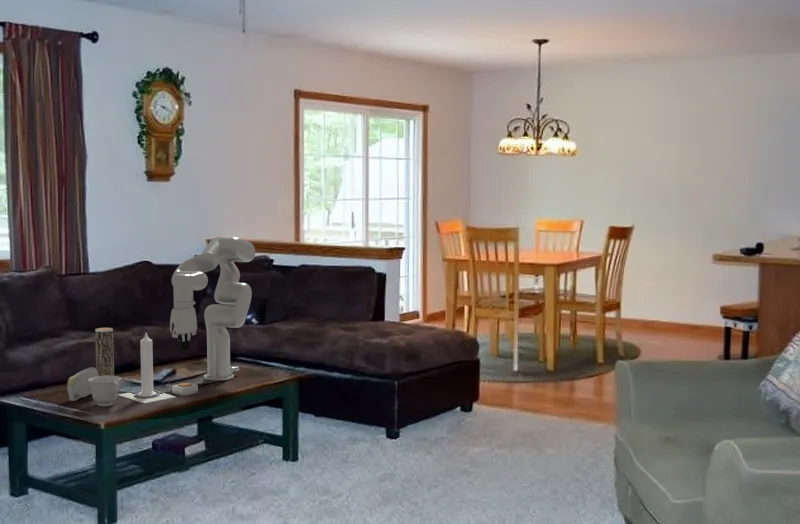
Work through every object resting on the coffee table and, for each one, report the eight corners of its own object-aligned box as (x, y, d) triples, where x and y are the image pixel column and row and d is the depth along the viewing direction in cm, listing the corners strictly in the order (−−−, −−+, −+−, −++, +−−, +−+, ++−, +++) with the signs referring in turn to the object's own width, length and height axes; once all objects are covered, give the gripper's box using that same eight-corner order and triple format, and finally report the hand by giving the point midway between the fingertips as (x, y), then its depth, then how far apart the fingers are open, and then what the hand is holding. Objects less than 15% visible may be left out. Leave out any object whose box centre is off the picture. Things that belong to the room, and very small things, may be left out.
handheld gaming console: (68, 405, 377) (95, 392, 391) (74, 406, 376) (100, 393, 389) (65, 378, 375) (91, 365, 388) (70, 379, 374) (97, 366, 387)
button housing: (187, 390, 395) (187, 382, 395) (198, 392, 390) (197, 385, 390) (172, 393, 390) (172, 385, 390) (182, 395, 385) (182, 388, 385)
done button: (186, 387, 393) (186, 382, 393) (192, 389, 390) (192, 384, 390) (177, 389, 390) (177, 384, 390) (183, 390, 387) (183, 385, 387)
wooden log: (114, 388, 398) (113, 327, 395) (114, 392, 391) (112, 330, 388) (97, 389, 396) (95, 328, 393) (96, 393, 389) (94, 330, 387)
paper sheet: (149, 389, 395) (148, 388, 395) (175, 397, 382) (175, 396, 382) (117, 395, 385) (117, 394, 385) (144, 403, 372) (144, 402, 372)
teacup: (104, 411, 360) (103, 384, 359) (82, 404, 370) (81, 378, 369) (132, 405, 369) (132, 379, 368) (110, 399, 379) (109, 373, 378)
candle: (151, 397, 380) (150, 334, 377) (134, 396, 381) (133, 333, 379) (159, 393, 387) (158, 331, 384) (143, 392, 388) (141, 330, 386)
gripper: (193, 302, 395) (194, 347, 397) (161, 306, 384) (162, 352, 386) (204, 304, 390) (205, 349, 392) (172, 308, 379) (173, 354, 381)
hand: (184, 350), depth 389 cm, fingers closed
